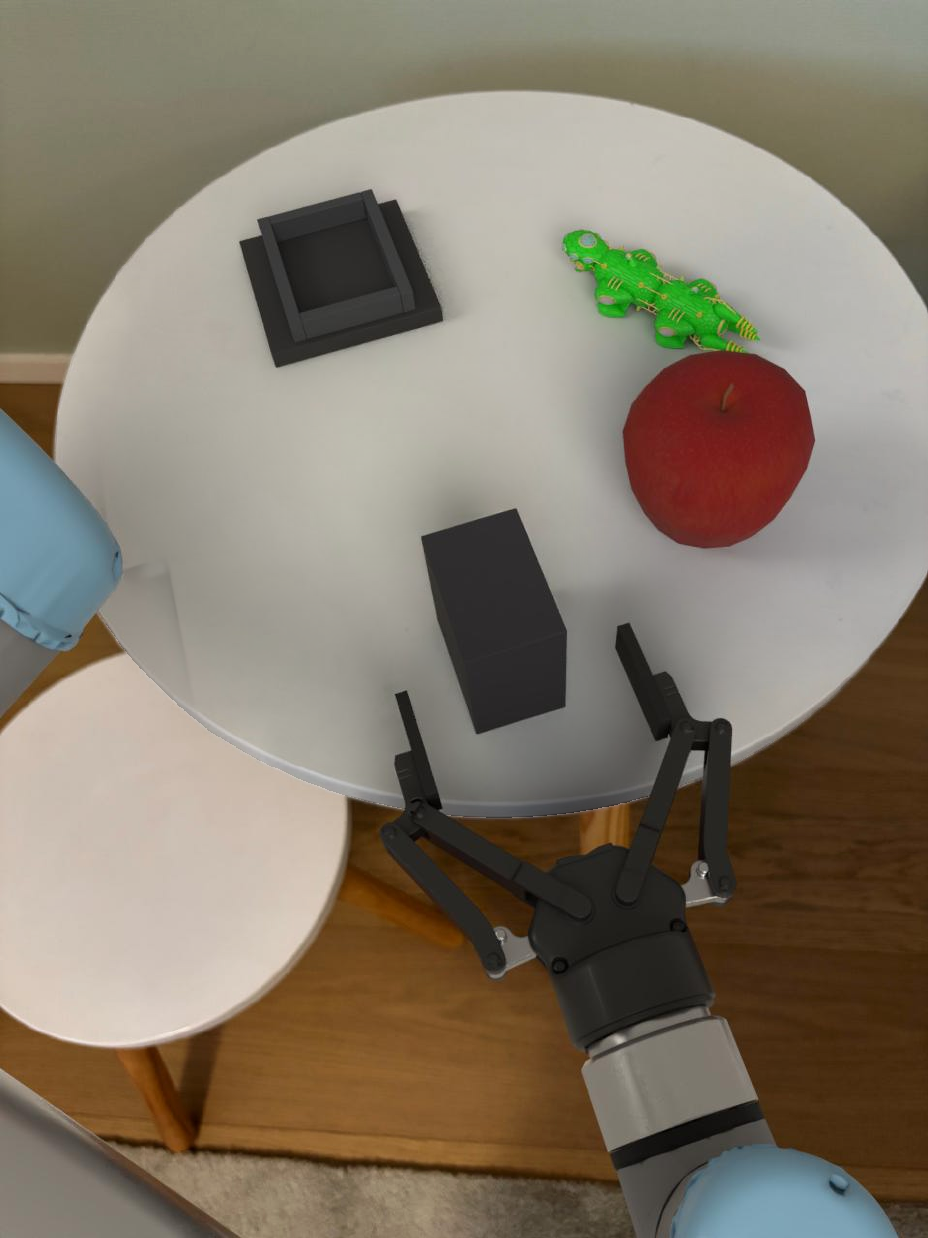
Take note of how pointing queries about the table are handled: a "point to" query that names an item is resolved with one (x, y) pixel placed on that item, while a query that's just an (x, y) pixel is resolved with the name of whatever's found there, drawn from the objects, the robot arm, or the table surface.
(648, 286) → the crocodile figurine
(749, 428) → the apple
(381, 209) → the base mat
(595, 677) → the table surface
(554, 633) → the pad block
